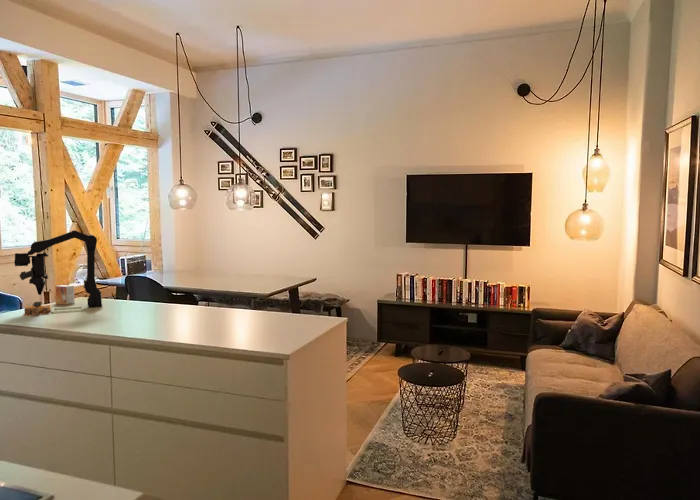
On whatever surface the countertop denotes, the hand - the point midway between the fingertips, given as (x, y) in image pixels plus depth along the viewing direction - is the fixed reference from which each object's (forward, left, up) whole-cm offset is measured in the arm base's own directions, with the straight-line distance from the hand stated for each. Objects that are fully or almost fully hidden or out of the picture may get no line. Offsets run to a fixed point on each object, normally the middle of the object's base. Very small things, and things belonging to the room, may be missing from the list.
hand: (39, 294), depth 265 cm
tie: (0, +8, -4) cm, 9 cm away
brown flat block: (0, +9, -9) cm, 12 cm away
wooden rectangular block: (0, +8, -8) cm, 11 cm away
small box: (-10, -17, -9) cm, 22 cm away
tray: (-13, +8, -9) cm, 18 cm away
